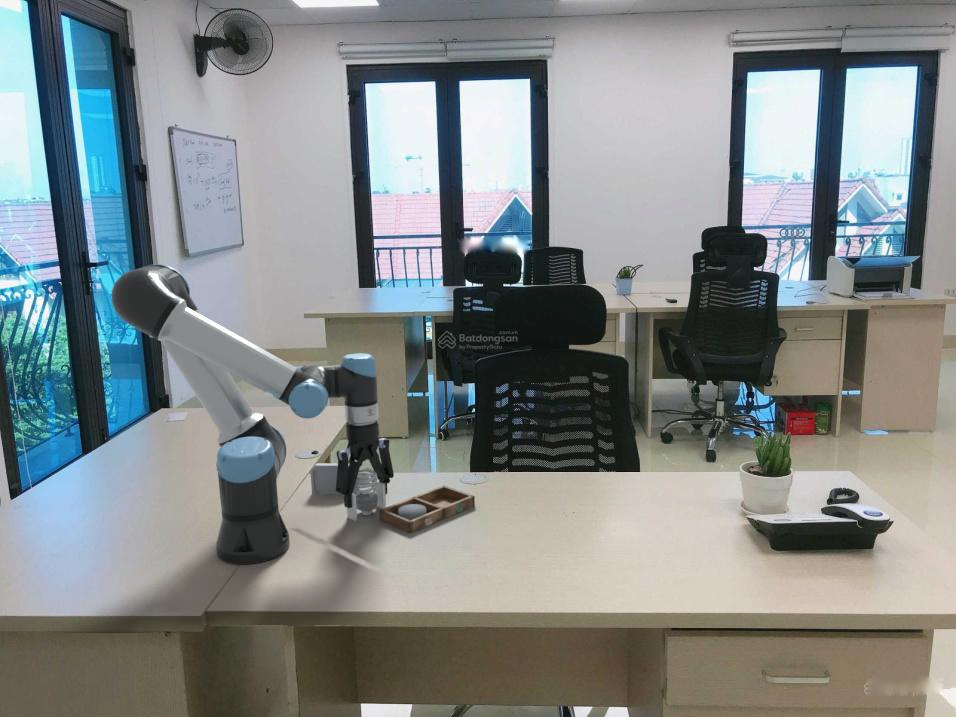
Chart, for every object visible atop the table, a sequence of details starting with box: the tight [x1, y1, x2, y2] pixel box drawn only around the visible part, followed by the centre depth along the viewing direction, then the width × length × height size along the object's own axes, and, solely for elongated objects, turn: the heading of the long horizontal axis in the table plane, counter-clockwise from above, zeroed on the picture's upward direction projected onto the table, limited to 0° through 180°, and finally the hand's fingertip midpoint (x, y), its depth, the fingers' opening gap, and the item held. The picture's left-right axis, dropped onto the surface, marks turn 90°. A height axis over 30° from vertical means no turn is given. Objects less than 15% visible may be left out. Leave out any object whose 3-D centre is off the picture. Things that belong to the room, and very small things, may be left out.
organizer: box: [379, 485, 476, 534], centre depth 181 cm, size 20×11×4 cm, turn 136°
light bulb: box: [354, 467, 379, 516], centre depth 181 cm, size 6×6×12 cm
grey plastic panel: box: [309, 462, 358, 495], centre depth 196 cm, size 2×12×8 cm, turn 84°
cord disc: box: [398, 504, 426, 520], centre depth 178 cm, size 6×6×2 cm
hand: (367, 513), depth 182 cm, fingers open, 8 cm apart
